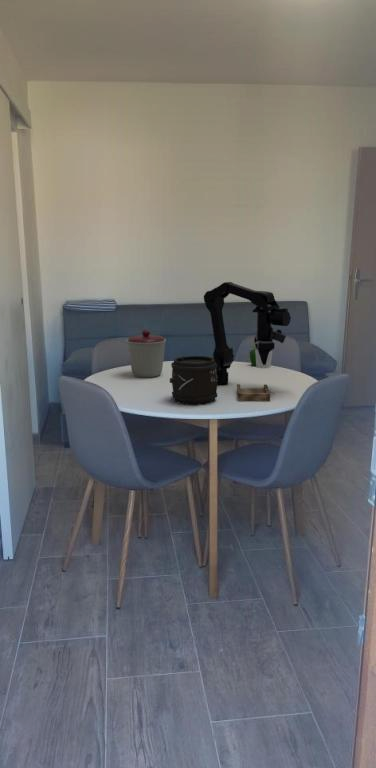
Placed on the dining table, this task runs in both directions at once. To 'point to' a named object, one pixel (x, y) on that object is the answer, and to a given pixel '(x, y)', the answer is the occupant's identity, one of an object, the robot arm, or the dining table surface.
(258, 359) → the shot glass
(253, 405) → the dining table surface
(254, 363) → the bell pepper
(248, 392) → the tray
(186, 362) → the black ribbed pot
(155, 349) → the canister
